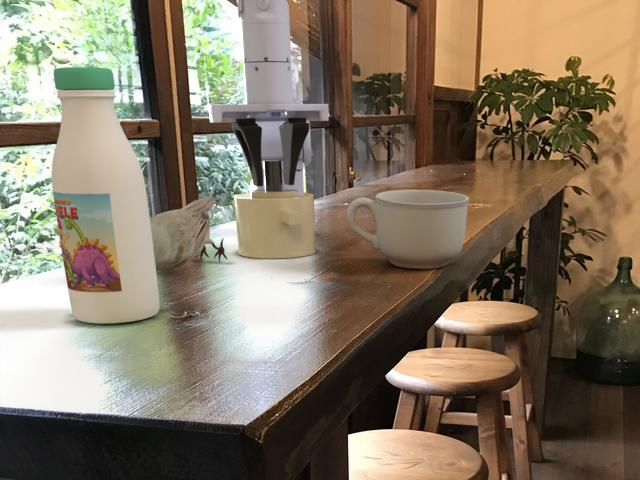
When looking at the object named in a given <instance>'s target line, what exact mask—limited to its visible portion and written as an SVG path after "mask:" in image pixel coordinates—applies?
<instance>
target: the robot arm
mask: <svg viewBox="0 0 640 480" xmlns="http://www.w3.org/2000/svg"><path fill="white" fill-rule="evenodd" d="M288 1H289V2H292V1H291V0H288ZM288 1H287V0H236V4H237V5H236V6H237V15H238V18H239V20H240V36H241V50H242V52H241V53H242V68H243V83H244V98H245V104H209V105H208V113H209V114H208V115H209V122H210V123H214V124H215V123H218V124H219V123H231V129H232V132H233V134H234V135H235V138H236V140H237V141H238V143H239V145H240V147H241V152H242V153H241V154H242V160H243V163H244V164H245V165H246V167H248V170H249V172H250V176H251V180H250V186H249V192H250V191H251V190H255V189H265V176H264V160H281V164H282V184H283V188H289V189H297V190H298V192H304V191H305V190H304V189H305V188H304V187H305V186H304V166H305V167H309V165H310V163H311V162H312V142H311V141H312V140H311V122H329V104H328V103H303V102H302V101H300V100H299V99H297V98H296V97H295V96H294V95H293V93H294V92H293V71H292V49H291V46H292V45H291V26H290V25H291V23H290V22H291V21H290V4H289V2H288ZM304 193H305V192H304Z"/></svg>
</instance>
